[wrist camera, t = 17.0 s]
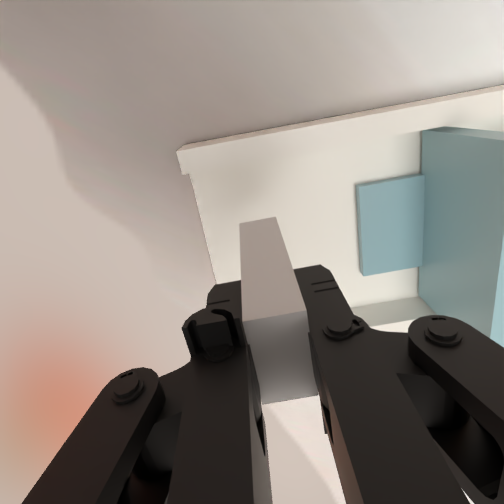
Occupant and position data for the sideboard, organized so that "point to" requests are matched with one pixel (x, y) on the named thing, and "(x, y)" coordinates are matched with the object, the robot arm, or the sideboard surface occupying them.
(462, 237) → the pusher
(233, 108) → the sideboard surface
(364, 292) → the white shallow tray
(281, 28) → the sideboard surface
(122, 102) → the sideboard surface
